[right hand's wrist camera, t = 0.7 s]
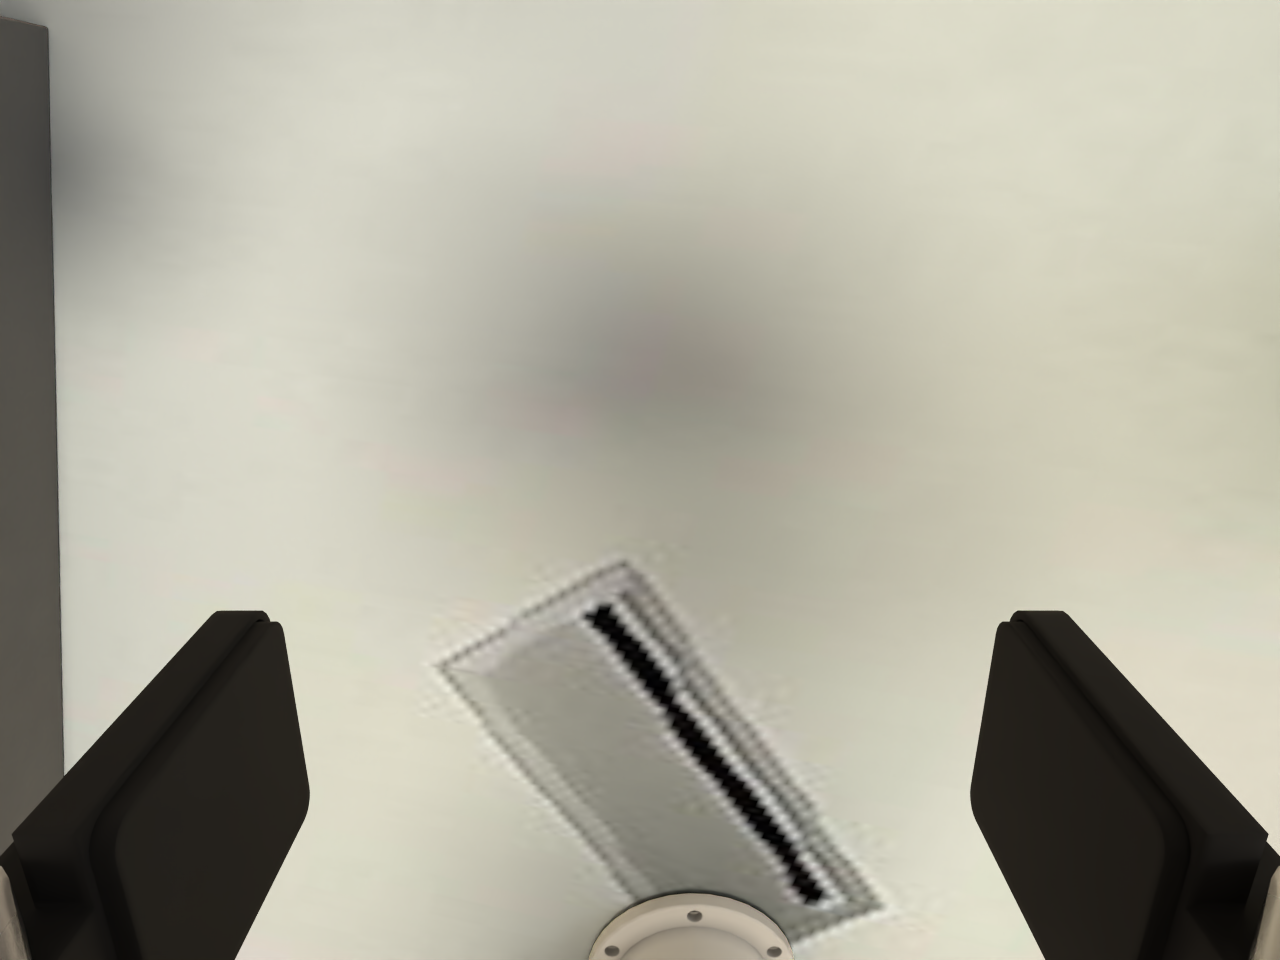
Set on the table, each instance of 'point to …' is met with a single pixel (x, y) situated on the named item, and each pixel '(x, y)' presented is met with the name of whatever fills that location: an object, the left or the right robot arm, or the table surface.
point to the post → (27, 437)
